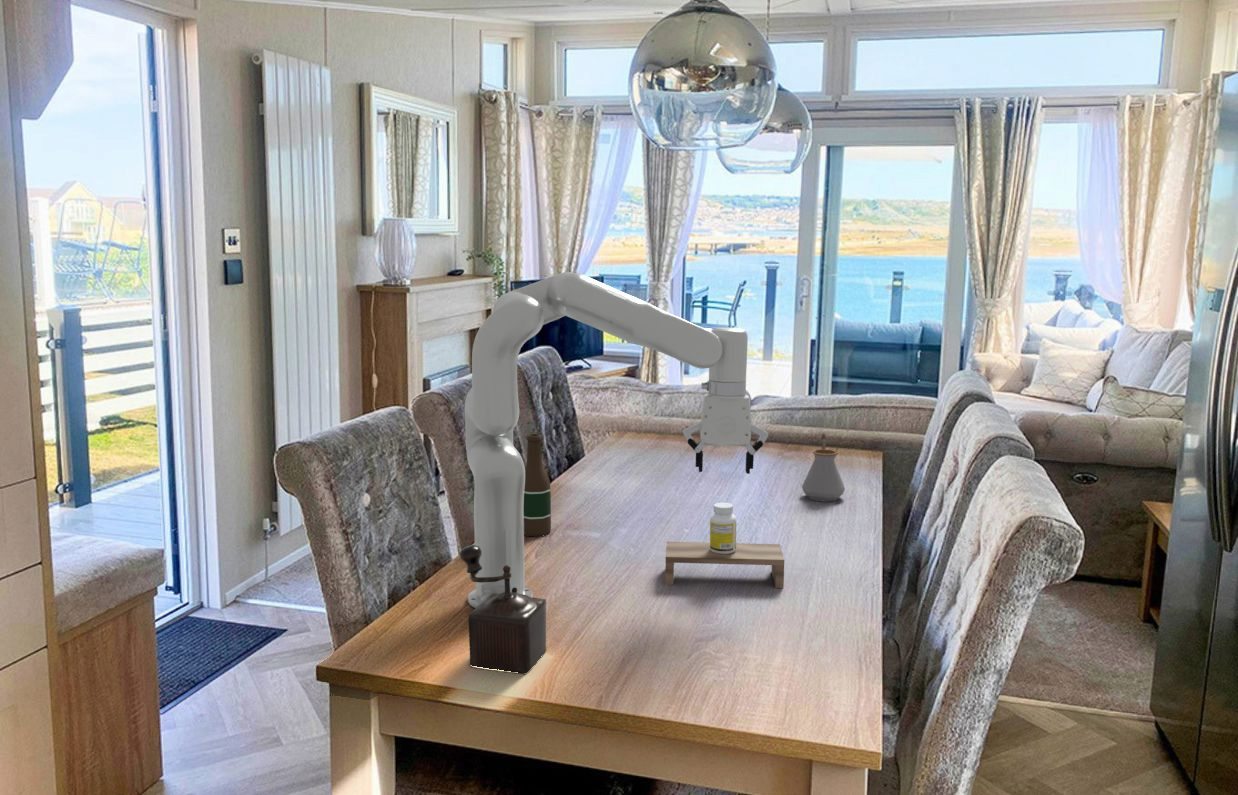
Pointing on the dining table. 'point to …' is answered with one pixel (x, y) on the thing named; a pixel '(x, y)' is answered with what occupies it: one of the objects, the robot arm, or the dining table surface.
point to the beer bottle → (536, 491)
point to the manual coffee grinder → (504, 623)
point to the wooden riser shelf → (725, 557)
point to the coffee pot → (823, 476)
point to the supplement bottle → (723, 529)
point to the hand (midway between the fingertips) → (724, 471)
